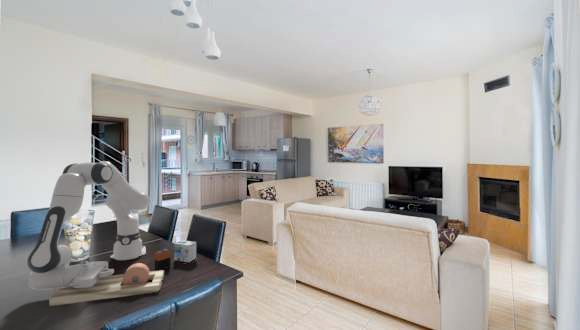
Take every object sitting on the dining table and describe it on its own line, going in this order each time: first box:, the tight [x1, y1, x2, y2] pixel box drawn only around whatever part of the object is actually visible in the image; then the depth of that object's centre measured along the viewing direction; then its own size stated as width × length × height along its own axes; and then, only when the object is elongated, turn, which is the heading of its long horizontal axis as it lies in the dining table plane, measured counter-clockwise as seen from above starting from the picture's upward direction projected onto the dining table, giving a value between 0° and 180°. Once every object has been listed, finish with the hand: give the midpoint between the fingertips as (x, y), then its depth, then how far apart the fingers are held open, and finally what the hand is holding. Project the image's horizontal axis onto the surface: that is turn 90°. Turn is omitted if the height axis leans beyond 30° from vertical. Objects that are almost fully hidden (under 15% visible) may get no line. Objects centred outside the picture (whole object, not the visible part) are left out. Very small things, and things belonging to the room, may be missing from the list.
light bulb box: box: [173, 239, 197, 262], centre depth 156 cm, size 11×7×11 cm, turn 71°
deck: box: [48, 269, 165, 307], centre depth 122 cm, size 17×40×3 cm, turn 108°
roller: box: [123, 262, 150, 286], centre depth 124 cm, size 6×10×10 cm
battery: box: [154, 248, 171, 271], centre depth 145 cm, size 4×7×10 cm, turn 146°
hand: (113, 271), depth 122 cm, fingers closed
